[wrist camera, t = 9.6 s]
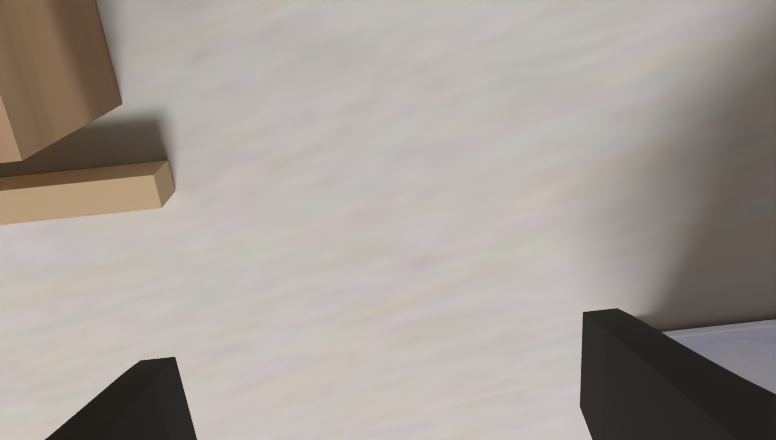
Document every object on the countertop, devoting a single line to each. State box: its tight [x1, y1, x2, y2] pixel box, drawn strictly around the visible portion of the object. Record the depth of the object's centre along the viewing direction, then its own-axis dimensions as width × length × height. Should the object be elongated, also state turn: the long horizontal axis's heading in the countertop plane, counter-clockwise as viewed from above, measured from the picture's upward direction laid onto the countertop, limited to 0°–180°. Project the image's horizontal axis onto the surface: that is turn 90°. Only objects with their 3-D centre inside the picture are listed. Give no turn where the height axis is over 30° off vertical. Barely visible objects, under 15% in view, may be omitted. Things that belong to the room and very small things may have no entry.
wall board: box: [0, 160, 175, 225], centre depth 15 cm, size 20×11×5 cm, turn 95°
